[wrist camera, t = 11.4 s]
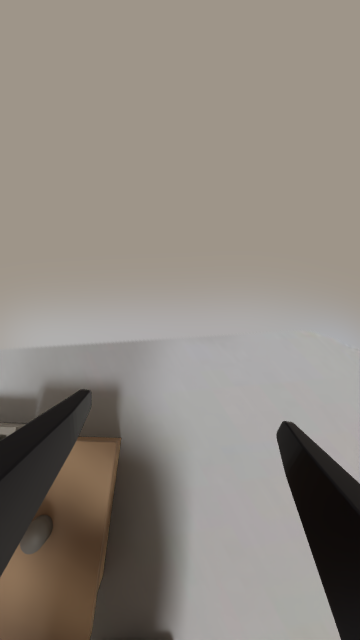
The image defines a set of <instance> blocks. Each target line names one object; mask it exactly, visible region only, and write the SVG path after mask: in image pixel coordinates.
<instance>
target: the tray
mask: <svg viewBox="0 0 360 640" xmlns="http://www.w3.org/2000/svg"><path fill="white" fill-rule="evenodd" d="M24 425H26V424H20V423H0V441H1V440H2V439H4V438H5V437H7V436H9V435H10V434H12V433H13V432H15V431H16V430H18V429H20V428H21V427H23V426H24Z"/></svg>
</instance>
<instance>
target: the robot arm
mask: <svg viewBox="0 0 360 640" xmlns="http://www.w3.org/2000/svg"><path fill="white" fill-rule="evenodd" d="M91 405H92V396H91V391H90V390H85V389H81V390H79V391H78V392H76V393H75V394H73V395H72V396H70V397H68V398H67V399H65V400H64V401H62V402H61V403H59V404H57V405H56V406H54V407H53V408H51V409H50V410H48V411H46V412H45V413H43V414H42V415H40V416H38V417H37V418H35V419H34V420H32V421H31V422H29V423H27V424H26V425H24V426H23V427H21V428H20V429H18V430H16V431H15V432H13V433H12V434H10V435H9V436H7V437H5V438H4V439H2V440H1V441H0V577H1V575H2V574H3V572H4V570H5V568H6V567H7V565H8V563H9V561H10V559H11V558H12V556H13V554H14V552H15V550H16V549H17V547H18V545H19V543H20V541H21V540H22V538H23V536H24V534H25V533H26V531H27V529H28V527H29V525H30V524H31V522H32V520H33V518H34V516H35V515H36V513H37V511H38V509H39V507H40V506H41V504H42V502H43V500H44V499H45V497H46V495H47V493H48V491H49V490H50V488H51V486H52V484H53V482H54V481H55V479H56V477H57V475H58V474H59V472H60V470H61V468H62V466H63V465H64V463H65V461H66V459H67V457H68V456H69V454H70V452H71V450H72V448H73V447H74V445H75V443H76V440H77V438H78V436H79V434H80V432H81V429H82V427H83V425H84V422H85V420H86V418H87V416H88V413H89V411H90V409H91ZM277 442H278V446H279V450H280V454H281V458H282V462H283V466H284V470H285V474H286V477H287V480H288V483H289V486H290V489H291V492H292V495H293V498H294V501H295V504H296V507H297V510H298V513H299V516H300V519H301V522H302V525H303V528H304V531H305V534H306V537H307V540H308V543H309V546H310V549H311V552H312V555H313V558H314V561H315V563H316V566H317V569H318V572H319V575H320V578H321V581H322V584H323V587H324V590H325V593H326V596H327V599H328V602H329V605H330V608H331V611H332V614H333V617H334V620H335V623H336V626H337V629H338V632H339V635H340V638H341V640H360V484H359V483H358V482H357V481H356V480H355V479H354V478H353V477H352V476H351V475H350V474H349V473H347V472H346V471H345V470H344V469H343V468H342V467H341V466H340V465H339V464H338V463H337V462H335V461H334V460H333V459H332V458H331V457H330V456H329V455H328V454H327V453H326V452H325V451H323V450H322V449H321V448H320V447H319V446H318V445H317V444H316V443H315V442H314V441H313V440H311V439H310V438H309V437H308V436H307V435H306V434H305V433H304V432H303V431H302V430H301V429H299V428H298V427H297V426H296V425H295V424H294V423H292V422H287V421H283V422H282V424H281V425H280V427H279V429H278V431H277Z"/></svg>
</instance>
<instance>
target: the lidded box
mask: <svg viewBox="0 0 360 640" xmlns="http://www.w3.org/2000/svg"><path fill="white" fill-rule="evenodd" d="M120 444H121V438H105V437H78V438H77V440H76V443H75V445H74V447H73V448H72V450H71V452H70V454H69V456H68V457H67V459H66V461H65V463H64V465H63V466H62V468H61V470H60V472H59V474H58V475H57V477H56V479H55V481H54V482H53V484H52V486H51V488H50V490H49V491H48V493H47V495H46V497H45V499H44V500H43V502H42V504H41V506H40V507H39V509H38V511H37V513H36V515H35V516H34V518H33V520H32V522H31V524H30V525H29V527H28V529H27V531H26V533H25V534H24V536H23V538H22V540H21V541H20V543H19V545H18V547H17V549H16V550H15V552H14V554H13V556H12V558H11V559H10V561H9V563H8V565H7V567H6V568H5V570H4V572H3V574H2V575H1V577H0V640H90V637H91V633H92V628H93V621H94V613H95V606H96V599H97V592H98V589H99V586H100V583H101V580H102V577H103V571H104V564H105V556H106V549H107V541H108V534H109V526H110V519H111V511H112V504H113V496H114V489H115V481H116V474H117V466H118V459H119V451H120Z"/></svg>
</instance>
